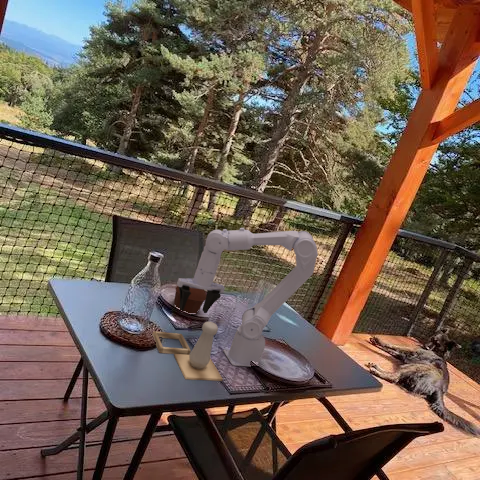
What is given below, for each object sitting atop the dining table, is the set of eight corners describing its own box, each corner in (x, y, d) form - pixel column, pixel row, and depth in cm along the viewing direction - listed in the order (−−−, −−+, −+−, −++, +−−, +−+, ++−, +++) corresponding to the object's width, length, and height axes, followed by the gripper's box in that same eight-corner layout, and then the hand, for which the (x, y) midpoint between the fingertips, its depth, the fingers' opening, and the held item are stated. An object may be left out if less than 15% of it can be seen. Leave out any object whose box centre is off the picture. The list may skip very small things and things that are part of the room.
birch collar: (180, 338, 141) (181, 333, 140) (189, 355, 133) (190, 350, 132) (151, 335, 136) (153, 331, 136) (159, 352, 128) (160, 348, 128)
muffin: (164, 301, 162) (172, 276, 160) (188, 301, 170) (196, 276, 168) (182, 318, 154) (191, 292, 152) (207, 317, 162) (216, 291, 160)
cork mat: (208, 358, 135) (209, 356, 135) (222, 380, 126) (222, 378, 125) (173, 355, 130) (174, 353, 129) (185, 379, 120) (185, 377, 120)
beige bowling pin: (205, 373, 125) (220, 332, 122) (185, 366, 125) (199, 324, 122) (208, 363, 131) (222, 323, 128) (189, 356, 131) (203, 316, 128)
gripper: (223, 267, 141) (209, 306, 144) (180, 260, 134) (166, 301, 137) (232, 277, 135) (217, 317, 138) (187, 269, 128) (173, 312, 131)
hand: (192, 310), depth 137 cm, fingers open, 7 cm apart
